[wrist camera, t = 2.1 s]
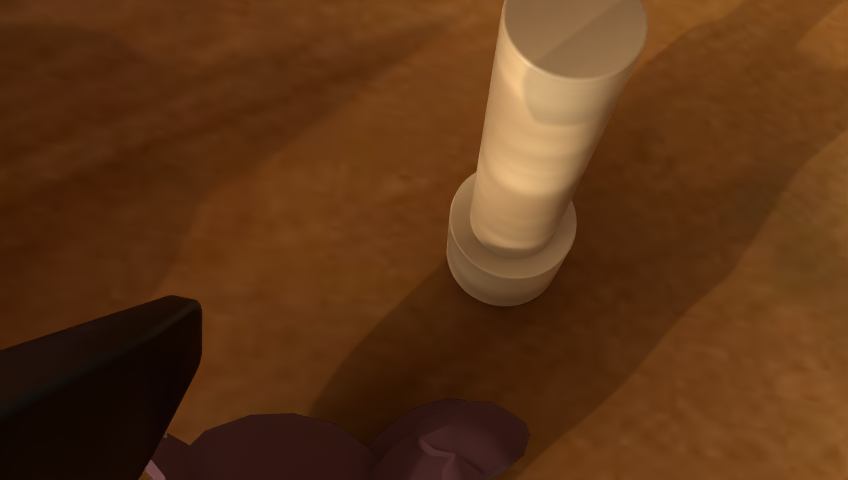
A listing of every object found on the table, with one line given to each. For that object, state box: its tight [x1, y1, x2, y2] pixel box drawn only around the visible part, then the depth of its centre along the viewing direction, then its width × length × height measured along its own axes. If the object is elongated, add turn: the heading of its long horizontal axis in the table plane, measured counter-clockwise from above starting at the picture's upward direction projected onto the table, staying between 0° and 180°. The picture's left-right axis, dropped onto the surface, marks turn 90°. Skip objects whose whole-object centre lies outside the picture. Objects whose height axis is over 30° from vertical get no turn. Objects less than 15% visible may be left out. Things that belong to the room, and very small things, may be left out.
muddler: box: [447, 0, 648, 306], centre depth 18 cm, size 4×4×12 cm
